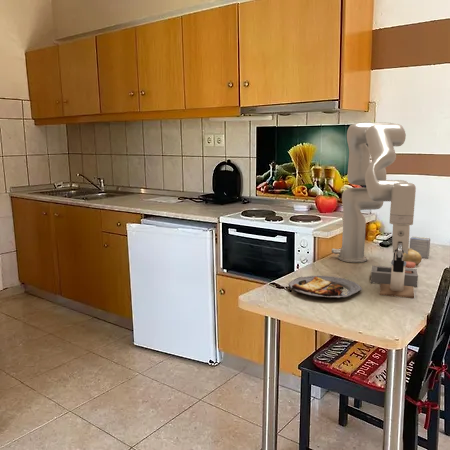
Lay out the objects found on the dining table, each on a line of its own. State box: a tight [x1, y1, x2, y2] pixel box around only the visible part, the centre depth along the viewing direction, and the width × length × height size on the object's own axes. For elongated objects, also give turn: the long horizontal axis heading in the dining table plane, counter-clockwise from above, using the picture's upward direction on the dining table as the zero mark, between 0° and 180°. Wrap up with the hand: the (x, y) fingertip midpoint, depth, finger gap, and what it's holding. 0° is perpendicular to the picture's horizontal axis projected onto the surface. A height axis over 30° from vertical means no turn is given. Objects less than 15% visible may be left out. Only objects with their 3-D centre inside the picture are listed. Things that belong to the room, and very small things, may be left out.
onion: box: [403, 248, 423, 267], centre depth 198 cm, size 8×8×7 cm
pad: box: [379, 283, 415, 299], centre depth 164 cm, size 11×11×1 cm
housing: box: [370, 264, 419, 288], centre depth 176 cm, size 16×10×4 cm, turn 71°
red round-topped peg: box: [405, 261, 416, 273], centre depth 174 cm, size 4×4×7 cm
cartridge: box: [390, 259, 406, 291], centre depth 163 cm, size 5×5×10 cm
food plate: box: [288, 275, 363, 299], centre depth 165 cm, size 25×23×4 cm
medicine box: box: [409, 236, 431, 259], centre depth 212 cm, size 8×4×9 cm, turn 58°
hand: (397, 268), depth 162 cm, fingers open, 9 cm apart
